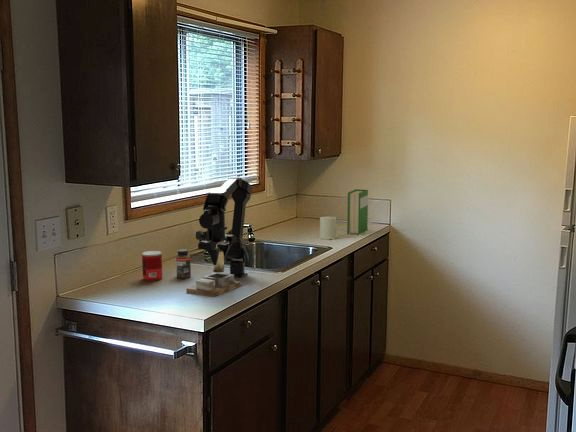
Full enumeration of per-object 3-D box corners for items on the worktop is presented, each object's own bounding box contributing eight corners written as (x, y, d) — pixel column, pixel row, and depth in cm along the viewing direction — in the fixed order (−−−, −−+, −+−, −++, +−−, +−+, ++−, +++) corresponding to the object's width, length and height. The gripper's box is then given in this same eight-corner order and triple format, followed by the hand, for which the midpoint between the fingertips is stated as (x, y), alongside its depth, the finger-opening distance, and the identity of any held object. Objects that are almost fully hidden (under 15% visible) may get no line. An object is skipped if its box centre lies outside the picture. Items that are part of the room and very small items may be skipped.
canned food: (166, 278, 263) (165, 252, 261) (152, 282, 256) (151, 255, 254) (153, 275, 267) (152, 250, 265) (138, 279, 260) (137, 253, 259)
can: (331, 240, 344) (331, 218, 342) (316, 238, 349) (316, 217, 347) (339, 237, 352) (339, 216, 350) (324, 236, 356) (324, 215, 355)
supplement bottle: (184, 274, 269) (183, 248, 268) (193, 276, 266) (193, 249, 264) (173, 276, 265) (172, 250, 263) (183, 279, 261) (182, 252, 259)
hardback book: (359, 235, 359) (360, 193, 356) (347, 234, 362) (347, 192, 358) (367, 230, 376) (368, 189, 372) (355, 229, 378) (355, 189, 375)
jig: (213, 281, 257) (213, 270, 256) (240, 285, 251) (240, 274, 250) (186, 292, 241) (186, 280, 240) (214, 296, 235) (214, 284, 234)
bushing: (217, 269, 250) (216, 249, 249) (226, 270, 248) (225, 250, 247) (210, 271, 247) (210, 251, 245) (219, 273, 245) (219, 252, 243)
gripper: (214, 219, 257) (214, 257, 259) (185, 226, 240) (186, 266, 243) (237, 221, 251) (237, 259, 254) (209, 228, 235) (210, 269, 238)
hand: (218, 263), depth 247 cm, fingers closed on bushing, 4 cm apart
